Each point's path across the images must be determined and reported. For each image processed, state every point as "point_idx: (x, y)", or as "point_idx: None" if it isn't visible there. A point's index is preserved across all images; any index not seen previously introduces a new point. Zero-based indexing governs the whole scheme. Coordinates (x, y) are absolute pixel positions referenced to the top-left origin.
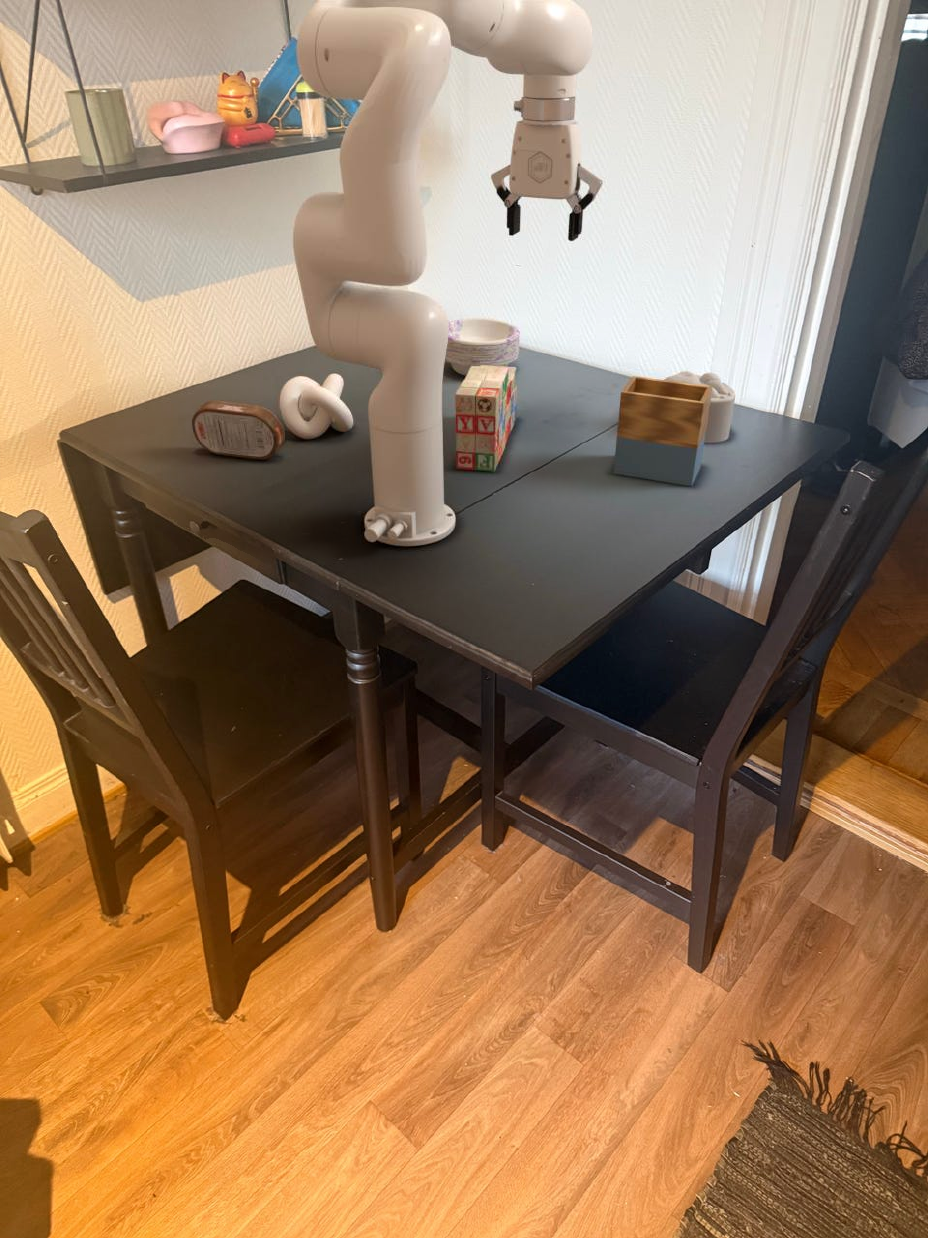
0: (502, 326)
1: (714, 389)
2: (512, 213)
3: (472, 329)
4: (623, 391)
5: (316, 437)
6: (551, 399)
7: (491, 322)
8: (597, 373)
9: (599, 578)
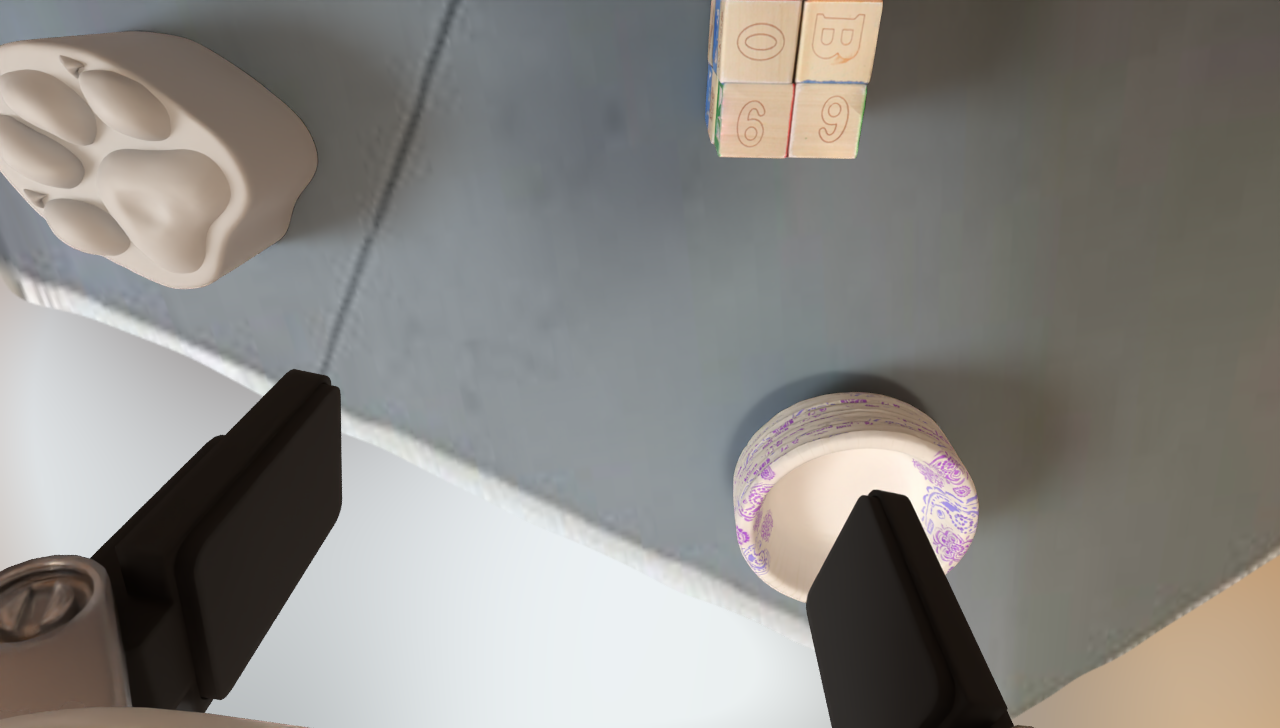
0: (789, 575)
1: (4, 95)
2: (942, 648)
3: None
4: None
5: None
6: (620, 289)
7: None
8: (529, 466)
9: None
